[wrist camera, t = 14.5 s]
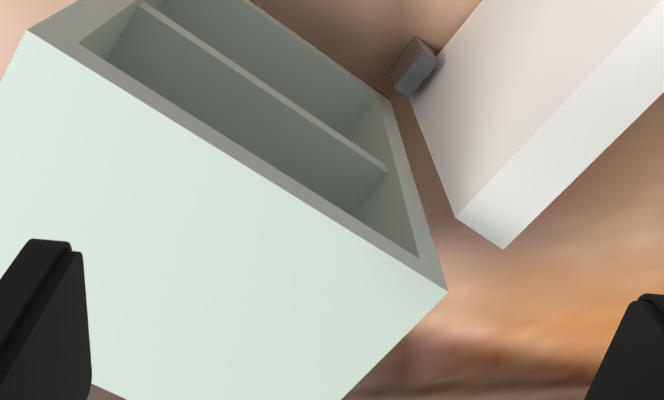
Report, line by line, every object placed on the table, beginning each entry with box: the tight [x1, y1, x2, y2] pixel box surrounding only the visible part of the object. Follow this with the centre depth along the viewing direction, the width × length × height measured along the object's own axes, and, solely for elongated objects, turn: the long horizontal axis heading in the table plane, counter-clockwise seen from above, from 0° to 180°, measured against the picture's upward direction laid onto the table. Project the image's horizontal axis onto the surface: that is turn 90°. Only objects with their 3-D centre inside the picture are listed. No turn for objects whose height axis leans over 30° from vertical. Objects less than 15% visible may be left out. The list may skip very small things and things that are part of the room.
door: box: [409, 0, 664, 250], centre depth 27 cm, size 10×3×14 cm, turn 144°
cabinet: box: [0, 0, 448, 400], centre depth 27 cm, size 10×14×18 cm
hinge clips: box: [388, 36, 439, 99], centre depth 32 cm, size 9×5×4 cm, turn 144°
